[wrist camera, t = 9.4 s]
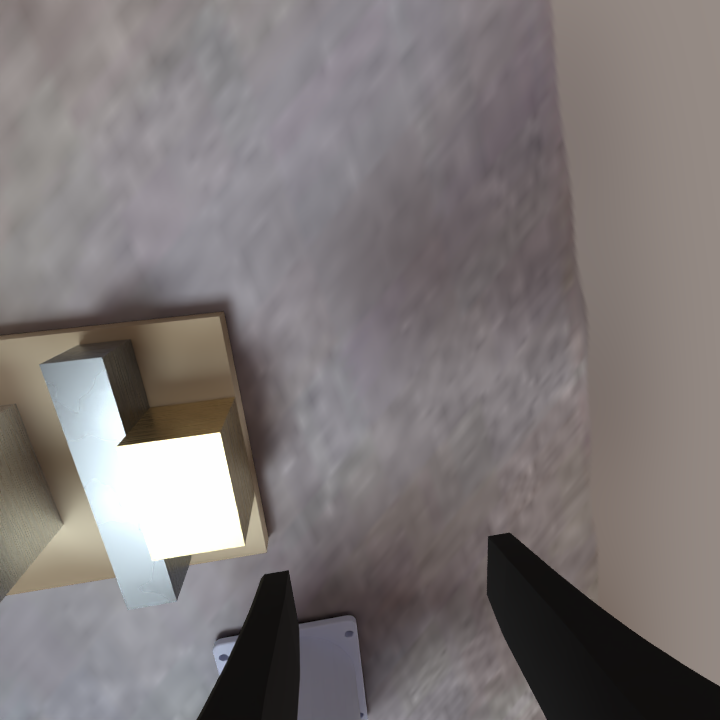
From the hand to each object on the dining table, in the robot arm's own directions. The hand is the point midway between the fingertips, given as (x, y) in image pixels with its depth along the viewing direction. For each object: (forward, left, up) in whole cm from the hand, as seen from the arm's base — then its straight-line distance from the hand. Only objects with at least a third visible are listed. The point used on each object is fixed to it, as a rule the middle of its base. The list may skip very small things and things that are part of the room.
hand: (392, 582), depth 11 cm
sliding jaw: (0, +8, -8) cm, 11 cm away
